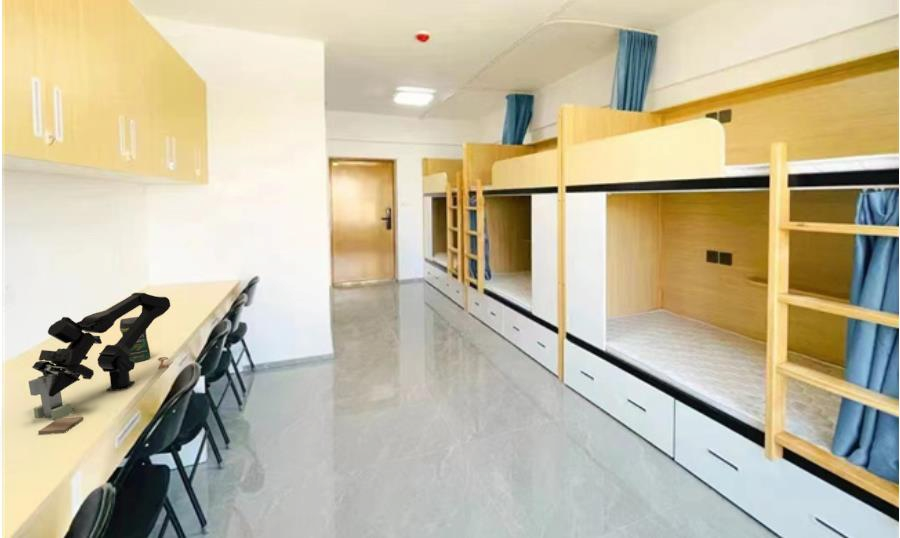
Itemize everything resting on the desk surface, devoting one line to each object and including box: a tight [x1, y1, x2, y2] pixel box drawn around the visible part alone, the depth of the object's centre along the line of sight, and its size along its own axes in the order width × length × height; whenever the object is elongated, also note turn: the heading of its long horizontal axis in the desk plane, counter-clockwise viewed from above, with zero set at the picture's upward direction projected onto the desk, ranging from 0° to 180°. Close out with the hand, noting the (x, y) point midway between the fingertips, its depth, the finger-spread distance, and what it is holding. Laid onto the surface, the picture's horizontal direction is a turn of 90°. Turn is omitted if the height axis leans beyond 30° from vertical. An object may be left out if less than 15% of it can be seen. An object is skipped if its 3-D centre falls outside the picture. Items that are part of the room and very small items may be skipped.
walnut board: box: [37, 416, 85, 435], centre depth 135 cm, size 8×7×1 cm
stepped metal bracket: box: [28, 373, 64, 419], centre depth 141 cm, size 6×3×13 cm, turn 166°
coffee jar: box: [119, 316, 151, 363], centre depth 192 cm, size 10×8×19 cm
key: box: [157, 356, 170, 370], centre depth 189 cm, size 6×1×15 cm
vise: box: [33, 403, 75, 421], centre depth 144 cm, size 6×9×3 cm
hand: (45, 395), depth 141 cm, fingers closed on stepped metal bracket, 3 cm apart
